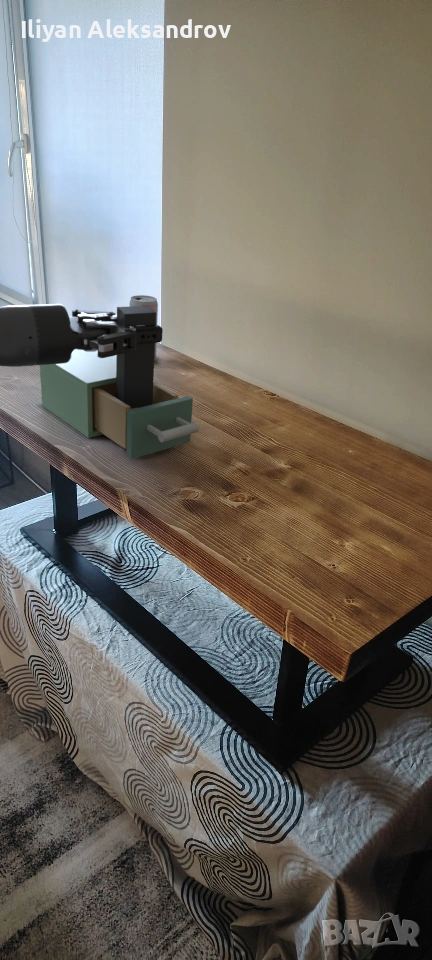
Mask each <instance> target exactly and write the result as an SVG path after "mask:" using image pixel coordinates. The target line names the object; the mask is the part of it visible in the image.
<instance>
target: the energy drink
mask: <svg viewBox="0 0 432 960" xmlns="http://www.w3.org/2000/svg"><path fill="white" fill-rule="evenodd" d="M133 306H148V307H149V308H151V309H152V310H153V311H155V312H156V325H158V314H159V313H158V312H159V310H158V309H159V302H158V299H157V298H156V297H154V296H151V295H145V294H144V295H143V294H142V295H141V294H140V295H137V294H136V295H132V296H131V297H130V300H129V306H128V307H133ZM157 344H158V343H155V356H154V362H155V361H156V360H157V347H158V346H157Z"/></svg>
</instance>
